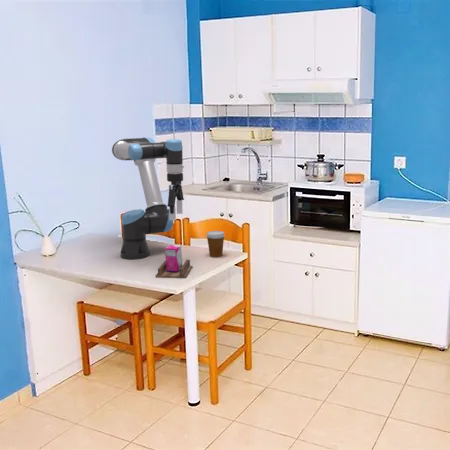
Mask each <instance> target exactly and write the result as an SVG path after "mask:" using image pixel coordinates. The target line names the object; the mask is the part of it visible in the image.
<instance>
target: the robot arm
mask: <svg viewBox="0 0 450 450" xmlns="http://www.w3.org/2000/svg"><path fill="white" fill-rule="evenodd" d="M183 148H184V147H183V141H182V140H181V139H179V138H178V139H177V138H175V139H174V138H173V139H172V138H171V139H167V140H166V141H165V140H164V141H160V142H155V140H154V139H153V138H152V137H144V136H143V137H134V138H132V137H131V138H123V139H119V140H117V141H115V142H114V144H113V145H112V146H111V153H112V155H113V157H114V158H115V159H117V160H120V161H133V163H134V165H135V166H137V169H138V171H139V176H140V180H141V181H140V182H141V185H142V190H143V193H144V199H145V202H146V208H145V210H144V209H141V208H139V209H131V210H128V211H125V212H124V213H123V214H121V215H122V216H121V226H122V229H121V230H122V240H123V241H122V245H121V249H120V257H121V258H122V259H127V260H139V259H140V260H141V259H144V258H148V257H149V256H150V255H151V250H150V246H149V244H148V242H147V236H146V235H152V234H159V233H160V234H161V233H162V234H163V233H165V232H170V231H171V230H172V228H173V226H174V221H176V219H177V217H176V215H178V214H180V215H182V214H183V201H184V200H185V198H184V193H183V187H182V182H183V181H184V173H183V172H184V168H185V165H183V163H184V162H183V159H184V158H183ZM157 159H166V173H167V174H166V181H167V182H169V183H170V184H169V185H168V200H167V204H166V203H164V202H163V197H162V193H161V189H160V184H159V180H158V176H157V172H156V171H157V170H156V168H155V162H156V160H157ZM175 205H176V206H175ZM168 207H169V208H168Z"/></svg>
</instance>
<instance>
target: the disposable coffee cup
mask: <svg viewBox="0 0 450 450" xmlns="http://www.w3.org/2000/svg"><path fill="white" fill-rule="evenodd" d="M225 236H226V235H225V232H224V231H222V230H210V231H208V232H207V233H206V235H205V237H206V239H207V245H208V251H209V256H210V257H211V258H219V257H220V258H221V257H222V256H223V252H224V251H223V250H224V242H225Z"/></svg>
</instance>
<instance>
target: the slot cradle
mask: <svg viewBox="0 0 450 450" xmlns="http://www.w3.org/2000/svg"><path fill="white" fill-rule="evenodd" d="M193 268H194V267H193V265H191V260H190V259H186V260H185V261H184V262H183V263H182V267H181V268H180V271H179V272H177V273H176V272H167V271H166V259H165V260H164V261H163V262H162V264H161V265H160V266H159V267H158V268H157V273H156V274H155V278H159V279H160V278H163V279H164V278H167V279H187V277H188V275H190V272H191V271H192V270H191V269H193Z"/></svg>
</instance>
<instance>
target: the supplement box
mask: <svg viewBox="0 0 450 450" xmlns="http://www.w3.org/2000/svg"><path fill="white" fill-rule="evenodd" d="M164 253H165V260H166V271H167V272H176V273H177V272H179V271H180V268H181V267H182V265H183V259H182V246H181V245H175V244H170V245H168V246H166V247H164Z"/></svg>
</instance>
